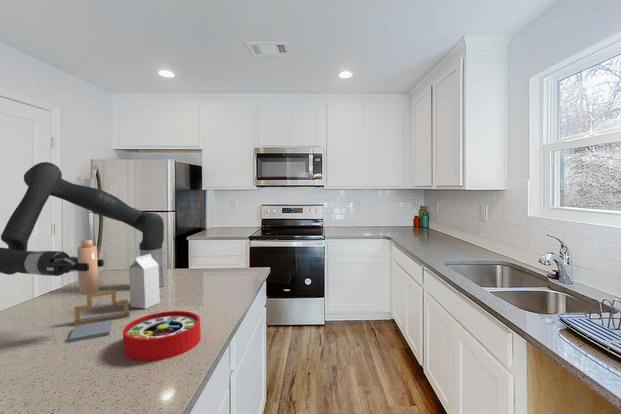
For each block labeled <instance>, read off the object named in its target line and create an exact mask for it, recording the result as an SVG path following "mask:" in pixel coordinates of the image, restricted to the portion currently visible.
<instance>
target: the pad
mask: <svg viewBox="0 0 621 414" xmlns="http://www.w3.org/2000/svg"><path fill="white" fill-rule="evenodd" d="M112 323H113V320H107V321H101V322H95V323H88V324H82V325H76V326H74V327H73V330H72V331H71V334H70V336H69V338H68V343H72V342H77V341H82V340H88V339H95V338H99V337H100V338H101V337H105V336H110V333H111V329H112V325H113V324H112Z"/></svg>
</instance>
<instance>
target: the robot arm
mask: <svg viewBox="0 0 621 414" xmlns="http://www.w3.org/2000/svg"><path fill="white" fill-rule="evenodd" d="M62 175H63V174H62V170H61V169H60V167H58V166H57V165H56V164H55V163H52V162H50V161H49V162H48V161H43V162H39V163H36V164H34V165H33V166H31V167H30V168H29V169H28V170H27V171H26V172H25V173H24V175H23V181H24V183H25V185H26V186H27V189H26V191H25V194H24V196H23V197H22V198H21V200H20V202H19V203H18V205H17V207H16V208H15V209H14V211H13V213H11V216H10V217H9V219H8V221H7V222H6V223H5V224H6V225H5V226H4V229H3V231H2V233H1V235H0V241H2V242H3V243H4V244H6V245H7V248H6V247H0V274H4V275H15V274H17V273H18V274H26V275H37V276H47V277H48V276H51V277H59V276H62V275H64V274H68V273H75V272H78V271H88V270H89V264H88V263H78V256H74V255H73V256H72V255H71V256H70V255H69V254H68V253H67V252H65V251H60V250H57V251H56V250H38V251H35V250H32V251H31V250H28V244H29V243H28V242H29V239H30V237H31V235H32V233H33V231H34V228H35V227H36V223H37V222H38V219H39V216H40V215H41V212H42V210H43V208H44V206H45V204H46V203H47V201H48V199H49V197H50V196H52V197H55V198H58V199H60V200H64V201H67V202H69V203H70V204H73V205H75V206H77V207H80V208H83V209H85V210H87V211H89V212H92V213H94V214H97V215H99V216H102V217H105V218H107V219H110V220H114V221H115V220H116V221H118V222H121V223H124V224H126V225H128V226H130V227H132V228H134V229H136V230H137V231H139V232H141V233H142V237H141V242H139V245H138V246H139V256H144V255H148V254H151V257H152V258H153V259H154V260H155V261H156V262H157V264H158V269H159V288H160V287H162V288H163V287H164V286H165V282H164V279H165V277H164V264H163V261H164V260H163V243H164V238H165V237H164V236H165V233H164V231H165V230H164V229H165V227H164V225H165V224H164V220H163V218H162V216H161V215H160V214H158V213H154V212H146V211H143V210H140V209H137V208H134V207H132V206H129V205H128V204H127V203H125V202H124V201H123V200H121V199H119V197H117V196H114V195H113V194H111V193H108V192H106V191H104V190H102V189H99V188H96V187H91V186H86V185H80V184H76V183H74V182H70V181H67V180H65V178H64V179H63V178H62ZM97 261H98V268H101V267H104V266H105V265H104V264H105V261H104V259H103V258H102V259H99V258H97Z"/></svg>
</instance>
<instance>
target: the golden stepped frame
mask: <svg viewBox="0 0 621 414" xmlns="http://www.w3.org/2000/svg"><path fill="white" fill-rule="evenodd" d="M116 292H117V290H116V289H109V290H101V291H98V292H97V293H94V294H89V295H86V304H85V305H79V306H78V305H77V306H74V320H73V323H72V326H74V327H75V326H80V325H86V324H92V323H98V322H104V321H111V320H112V321H113V320H119V319H124V318H130V317H131V311H130V310H129V299H127V298H126V299H122V300H121V299H120V300H117V293H116ZM108 295H110V296H111V306H112V307H114V306H121V305H123V311H122V312H116V313H110V314H104V315H96V316H91V317H84V318H83V317H82V318H81V312H82V311H88V310H92V309H93V298H94V297H95V298H96V297H103V296H108Z"/></svg>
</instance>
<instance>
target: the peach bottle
mask: <svg viewBox="0 0 621 414" xmlns="http://www.w3.org/2000/svg"><path fill="white" fill-rule="evenodd" d="M80 241H81V242H80V243H81V246H78V247H77V249H76V251H77V252H76V253H77V257H78V263H88V264H89V270H88V271H77V276H78V295H80V296H87V295H89V294H94V293H97V292H100V291H99V274H98V273H99V267H98V261H97V259H98V245H93V242H94V241H93V239H84V240H80Z"/></svg>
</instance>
